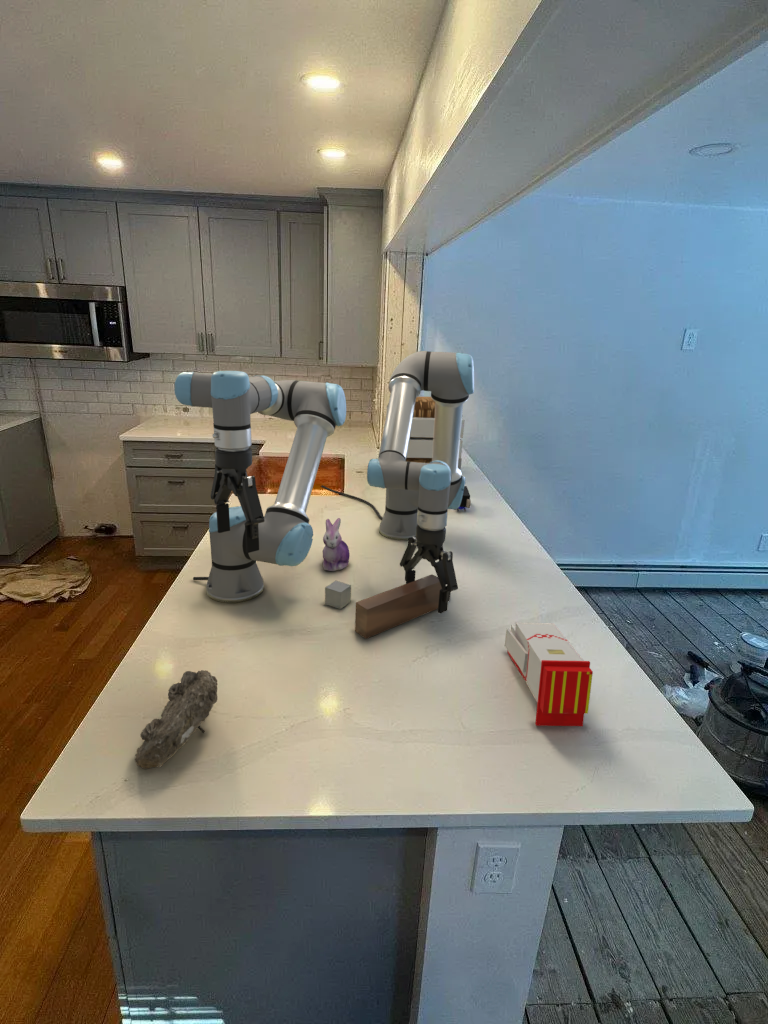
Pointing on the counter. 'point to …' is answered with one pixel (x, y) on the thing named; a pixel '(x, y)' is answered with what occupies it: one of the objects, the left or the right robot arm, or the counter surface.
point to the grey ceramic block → (337, 594)
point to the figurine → (334, 548)
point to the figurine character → (465, 500)
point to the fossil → (178, 718)
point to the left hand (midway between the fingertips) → (237, 541)
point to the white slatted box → (425, 432)
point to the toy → (551, 672)
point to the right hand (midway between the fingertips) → (425, 602)
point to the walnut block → (397, 606)
